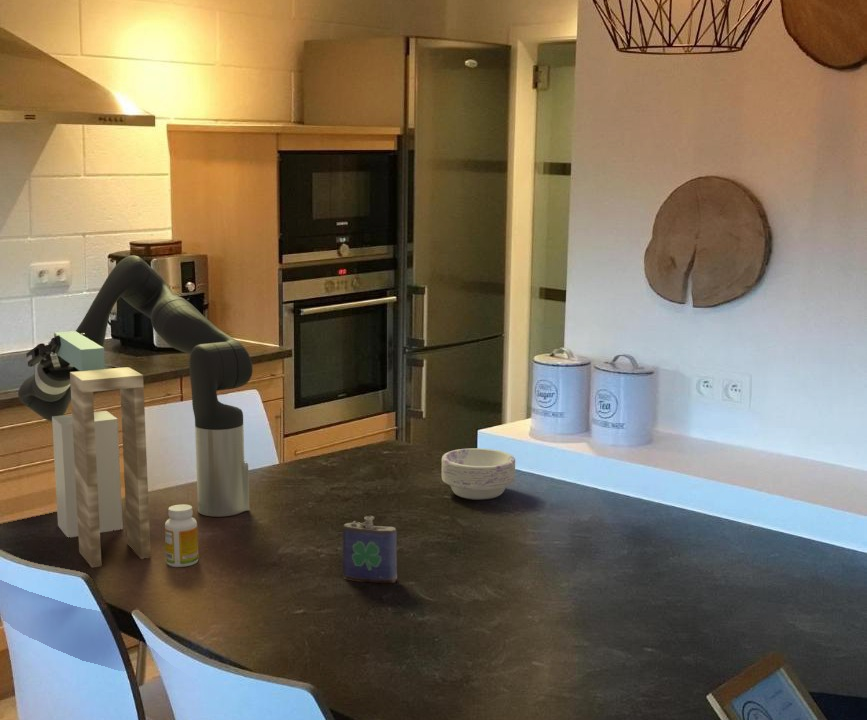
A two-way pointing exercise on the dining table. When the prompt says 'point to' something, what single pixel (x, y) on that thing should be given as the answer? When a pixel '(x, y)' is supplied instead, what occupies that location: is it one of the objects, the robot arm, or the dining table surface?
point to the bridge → (132, 456)
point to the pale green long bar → (80, 351)
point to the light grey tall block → (105, 473)
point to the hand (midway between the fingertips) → (71, 339)
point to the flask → (369, 552)
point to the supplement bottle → (181, 537)
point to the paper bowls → (478, 472)
